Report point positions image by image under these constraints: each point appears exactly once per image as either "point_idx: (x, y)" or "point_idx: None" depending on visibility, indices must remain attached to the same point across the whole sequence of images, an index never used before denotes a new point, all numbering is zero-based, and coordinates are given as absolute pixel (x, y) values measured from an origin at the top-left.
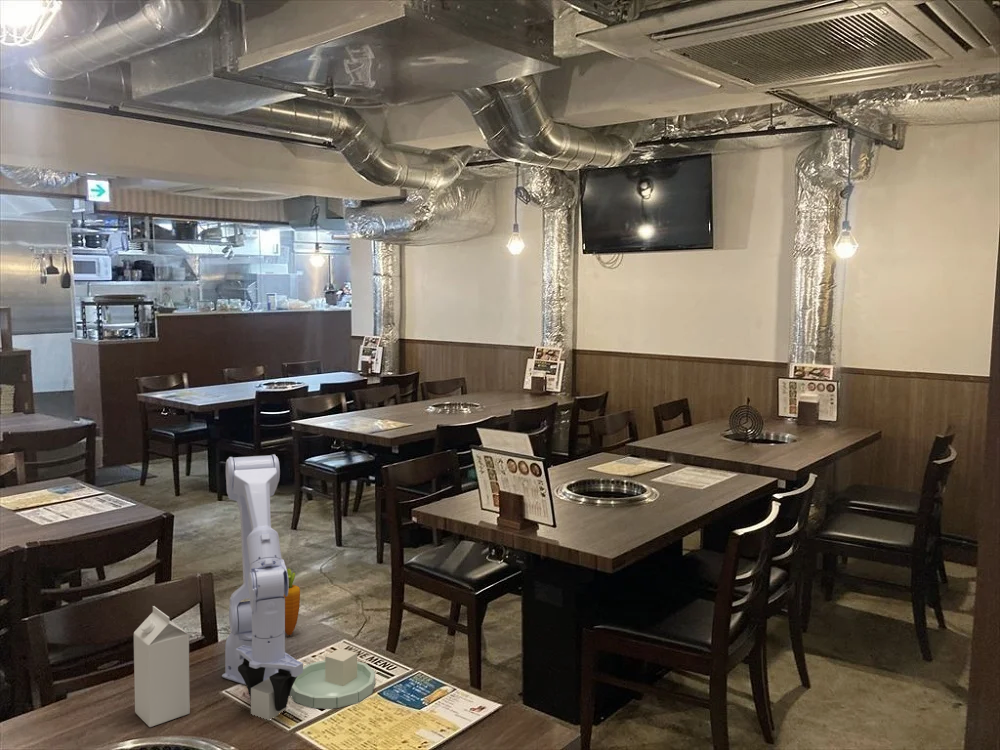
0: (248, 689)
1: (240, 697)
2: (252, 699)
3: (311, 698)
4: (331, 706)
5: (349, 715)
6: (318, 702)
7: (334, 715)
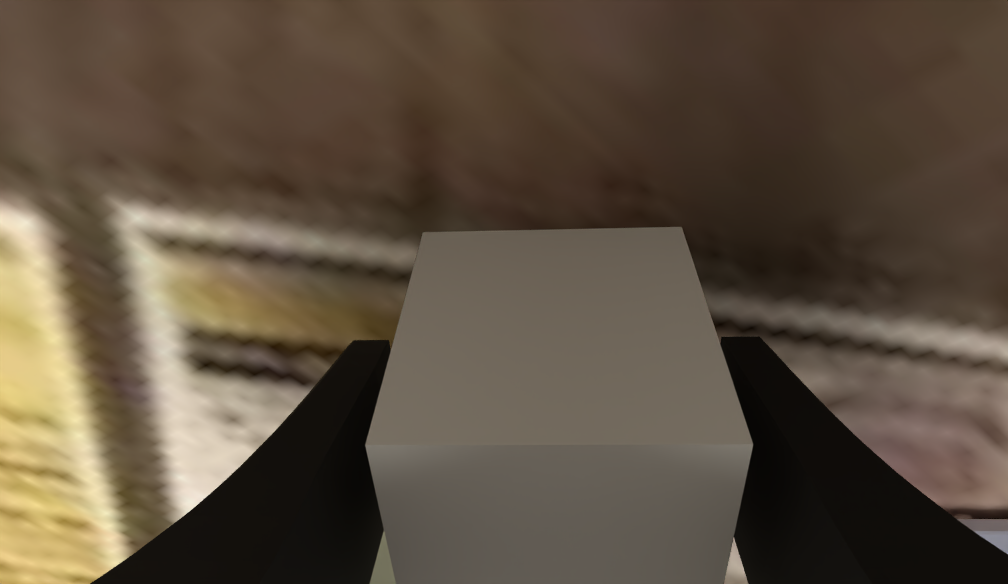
0: (829, 429)
1: (994, 381)
2: (688, 333)
3: None
4: None
5: (12, 539)
6: None
7: (83, 504)
